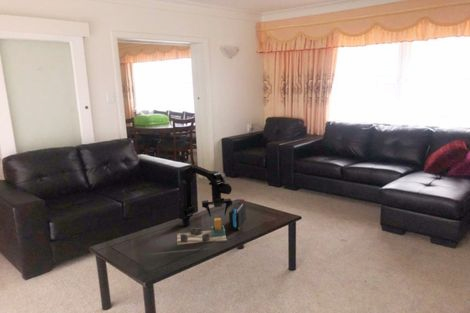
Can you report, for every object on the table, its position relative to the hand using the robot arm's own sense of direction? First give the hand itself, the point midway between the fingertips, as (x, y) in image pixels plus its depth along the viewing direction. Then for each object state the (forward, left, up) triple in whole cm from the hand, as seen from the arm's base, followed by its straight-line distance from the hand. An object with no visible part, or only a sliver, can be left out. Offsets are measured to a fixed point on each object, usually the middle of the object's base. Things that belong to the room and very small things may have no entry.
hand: (217, 215), depth 232 cm
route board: (+2, -11, -13) cm, 17 cm away
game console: (-15, +15, -13) cm, 25 cm away
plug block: (0, 0, -11) cm, 11 cm away
